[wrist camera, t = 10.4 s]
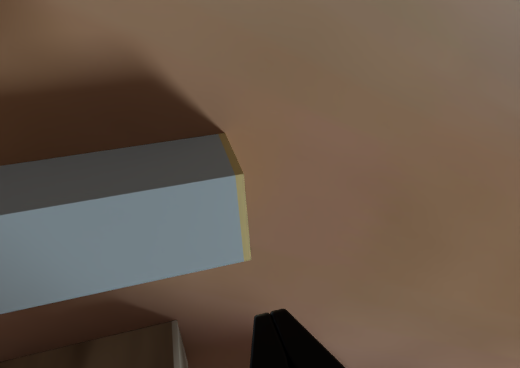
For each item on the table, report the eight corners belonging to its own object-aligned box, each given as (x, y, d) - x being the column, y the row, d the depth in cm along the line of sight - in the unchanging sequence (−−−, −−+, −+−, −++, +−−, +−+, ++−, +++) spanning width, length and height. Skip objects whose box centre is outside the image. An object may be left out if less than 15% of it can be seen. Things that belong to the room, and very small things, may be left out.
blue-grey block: (251, 259, 15) (-7, 315, 13) (233, 207, 18) (26, 245, 16) (243, 173, 13) (-65, 226, 11) (224, 132, 16) (-13, 167, 14)
